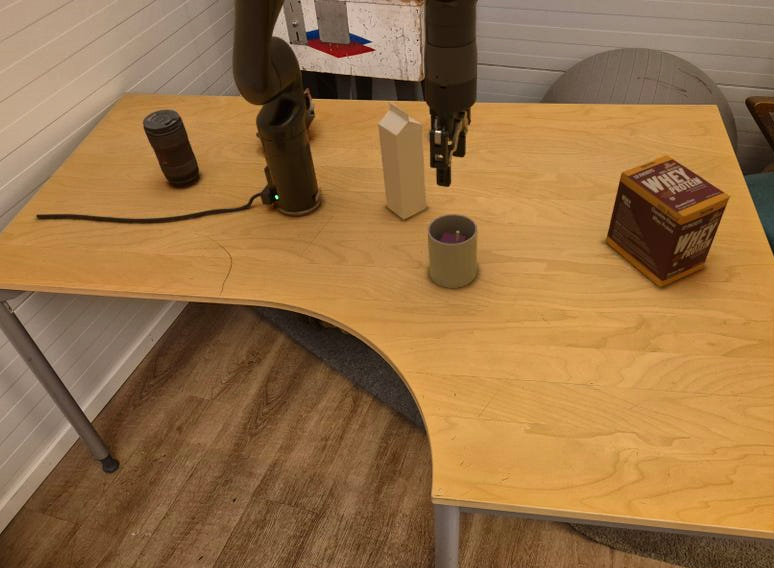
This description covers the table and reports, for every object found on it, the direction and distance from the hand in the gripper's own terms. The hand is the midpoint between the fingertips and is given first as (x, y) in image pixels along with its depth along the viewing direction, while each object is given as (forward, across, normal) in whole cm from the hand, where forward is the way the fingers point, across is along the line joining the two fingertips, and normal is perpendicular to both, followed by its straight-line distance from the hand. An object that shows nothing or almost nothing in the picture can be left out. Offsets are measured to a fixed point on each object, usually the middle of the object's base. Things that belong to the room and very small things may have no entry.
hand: (451, 170), depth 101 cm
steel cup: (+22, 0, 0) cm, 22 cm away
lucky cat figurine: (+22, -37, -52) cm, 68 cm away
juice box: (+21, 0, 0) cm, 21 cm away
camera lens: (+22, -15, -68) cm, 73 cm away
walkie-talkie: (+22, -46, -17) cm, 54 cm away
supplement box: (+22, -14, +35) cm, 44 cm away
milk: (+22, -17, -15) cm, 32 cm away
